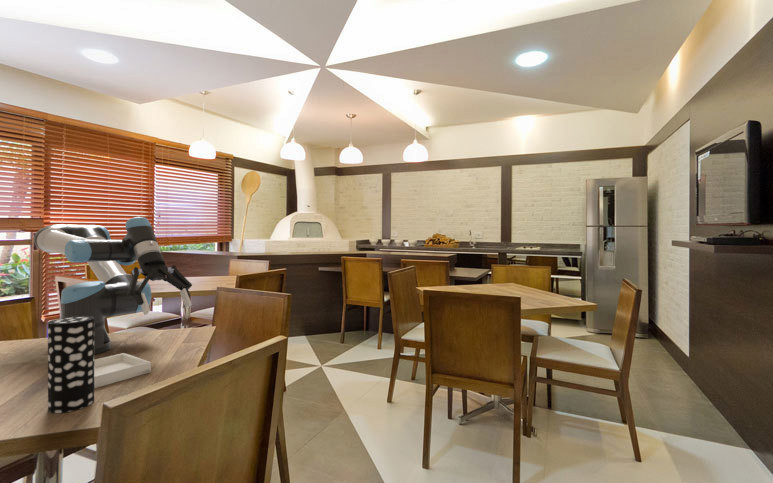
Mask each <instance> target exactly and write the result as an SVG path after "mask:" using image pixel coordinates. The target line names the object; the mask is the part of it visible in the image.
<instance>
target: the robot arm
mask: <svg viewBox="0 0 773 483" xmlns="http://www.w3.org/2000/svg"><path fill="white" fill-rule="evenodd" d="M125 231H126V234H125V236H123V239H112V238H111V236H110V235H111V234H110V231H109V230H108V229H107V228H106V227H105V226H103V225H96V224H65V223H64V224H63V223H59V224H58V223H56V224H50V225H46V226H44V227H41V228H40V229H38V231H36V232H35V234H34V236H33V243H34V245H35V246H36V248H37V249H39V250H40V251H42V252H45V253H47V254H60V255H63V256H65V259H66V260H67V261H68V262H70V263H80V264H82V263H83V264H84V263H86V264H88V266H89V268H90V269H91V271H92V272H93V274H94V275H95V277H96V278H97V279H98V280H97V281H96V280H94V281H85V282H80V283H75V284H71V285H68V286H66V287H64V288H63V289H62V290H61V294H60V295H61V297H60V301H59V302H60V319H61V318H67V317H78V316H91V317H94V355H97V354H101V353H104V352H106V351H109V350H110V349H111V348H112V343H111V338H110V336H109V334H108V332H107V329H106V327H105V326H106V324H105V318H111V317H119V316H126V315H130V314H131V315H132V314H137V313H141V312H142V313H143V315H144V316H147V315H148V314H149V312H151V308H150V305H151V301H152V288H151V285H150V283H149V281H152V282H155V281H163V282H167V283H169V284H170V285H171V286H174V287H175V288H176V289H177V290H179V291H180V292H179V294H180V297H181V299H182V302H183V305H184V306H185V309H189V308H190V307H191V306H192V302H191V299H190V297H191V294H190V291H189V290H190V288H191V287H192V286H193V284H192V283H191V282H190V281H189V280H188V279H187V278H186V277H185V276H184V275H183V274H182V273H181V272H180V271H179V269H177V267H176V264H175V265H171V266H170V267H167V266H166V262H165V258H164V256H163V254H162V251H161V248H160V246H159V243H158V240H157V238H156V234H155V231H154V229H153V226H152V224H151V223H150V220H149V219H148V218H147V217H144V216H143V217H142V216H136V217H132V218H129V219H128V220H127V221H126V222H125ZM136 261H137V263H138V266H139V268H138V267H137V266H135V267H134V268H132V270H131V272H130V273H131V274H129V273H127V272H126V271H125V269H124V268H123V267H122V266H131V265H133V264H135V262H136ZM121 265H122V266H121ZM140 275H143V276H144V279H143V280H141V281H138V279H139V276H140Z"/></svg>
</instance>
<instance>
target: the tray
mask: <svg viewBox="0 0 773 483" xmlns="http://www.w3.org/2000/svg"><path fill="white" fill-rule="evenodd" d="M150 373H152V362H151V361H149V360H146V359H143V358H140V357H138V356H135V355H132V354H129V353H127V352H126V353H125V352H123V353H118V354H113V355H109V356H105V357H100V358H96V359H95V358H94V389H97V388H101V387H104V386H107V385H111V384H114V383H119V382H122V381H124V380H129V379H132V378H136V377H138V376H142V375H146V374H150Z"/></svg>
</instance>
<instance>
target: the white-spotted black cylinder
mask: <svg viewBox="0 0 773 483" xmlns="http://www.w3.org/2000/svg"><path fill="white" fill-rule="evenodd" d="M94 360H95V354H94V317H91V316H78V317H67V318H61V317H60V318H56V319H52V320H48V322H47V411H48V412H49V413H52V414H62V413H63V414H64V413H65V414H66V413H70V412H74V411H77V410H81V409H84V408H87V407H89V406H90V405H92V404H93V403H94V402H95V388H94Z"/></svg>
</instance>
